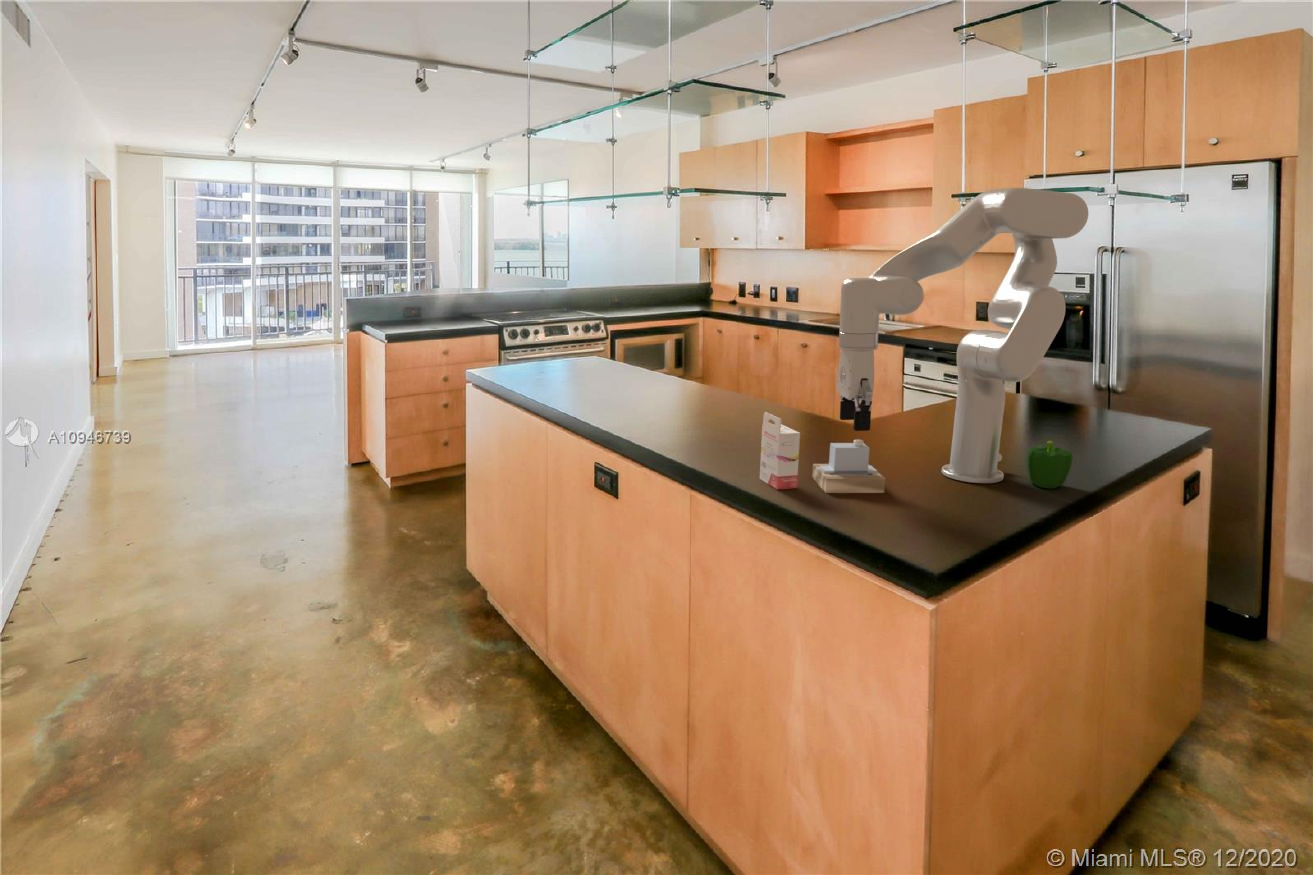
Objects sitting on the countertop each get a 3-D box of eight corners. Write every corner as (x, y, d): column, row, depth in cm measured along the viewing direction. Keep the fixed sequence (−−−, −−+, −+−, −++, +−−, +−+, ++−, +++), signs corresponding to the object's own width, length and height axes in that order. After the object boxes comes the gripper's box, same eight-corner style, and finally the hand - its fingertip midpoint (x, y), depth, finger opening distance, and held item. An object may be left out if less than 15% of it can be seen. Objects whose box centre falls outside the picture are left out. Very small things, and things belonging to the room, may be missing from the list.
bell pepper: (1037, 477, 170) (1043, 433, 168) (1075, 487, 164) (1081, 441, 161) (1015, 483, 166) (1021, 437, 164) (1052, 493, 159) (1059, 446, 157)
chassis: (812, 477, 168) (812, 463, 168) (867, 477, 169) (868, 463, 168) (825, 492, 158) (826, 478, 157) (884, 492, 158) (885, 478, 157)
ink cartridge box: (798, 488, 160) (802, 418, 157) (776, 490, 159) (780, 419, 155) (779, 477, 168) (783, 409, 165) (758, 478, 167) (761, 410, 163)
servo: (818, 482, 165) (821, 438, 163) (869, 482, 166) (873, 438, 163) (823, 487, 161) (826, 443, 159) (875, 487, 162) (879, 443, 159)
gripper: (828, 336, 164) (825, 416, 169) (852, 347, 148) (848, 435, 152) (863, 335, 165) (859, 415, 169) (891, 346, 148) (886, 434, 152)
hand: (854, 424), depth 160 cm, fingers open, 9 cm apart
